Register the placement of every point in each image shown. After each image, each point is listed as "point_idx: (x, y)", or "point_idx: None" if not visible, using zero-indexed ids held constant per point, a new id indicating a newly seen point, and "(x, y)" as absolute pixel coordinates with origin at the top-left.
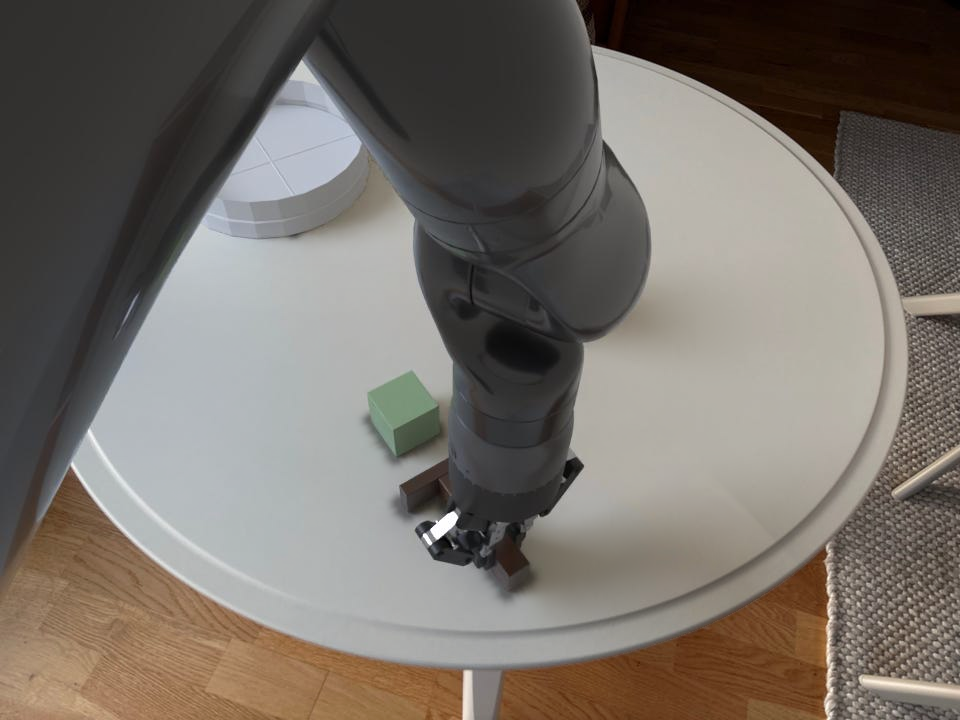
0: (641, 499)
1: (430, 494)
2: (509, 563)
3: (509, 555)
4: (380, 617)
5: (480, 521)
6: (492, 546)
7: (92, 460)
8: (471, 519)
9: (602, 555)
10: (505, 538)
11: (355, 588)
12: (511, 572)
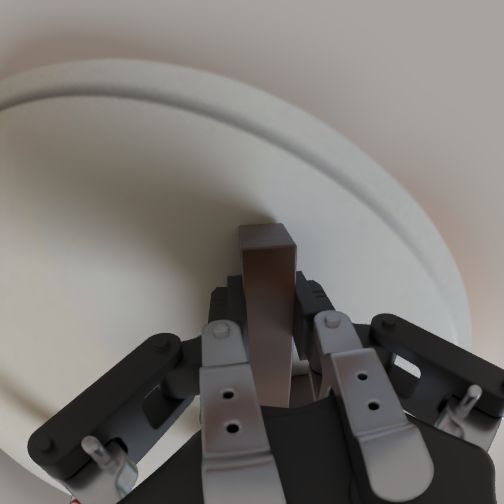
0: (31, 249)
1: (295, 387)
2: (279, 269)
3: (269, 282)
4: (424, 276)
5: (446, 471)
6: (328, 331)
7: None
8: (486, 489)
9: (105, 199)
10: (256, 313)
11: (419, 316)
12: (287, 251)
